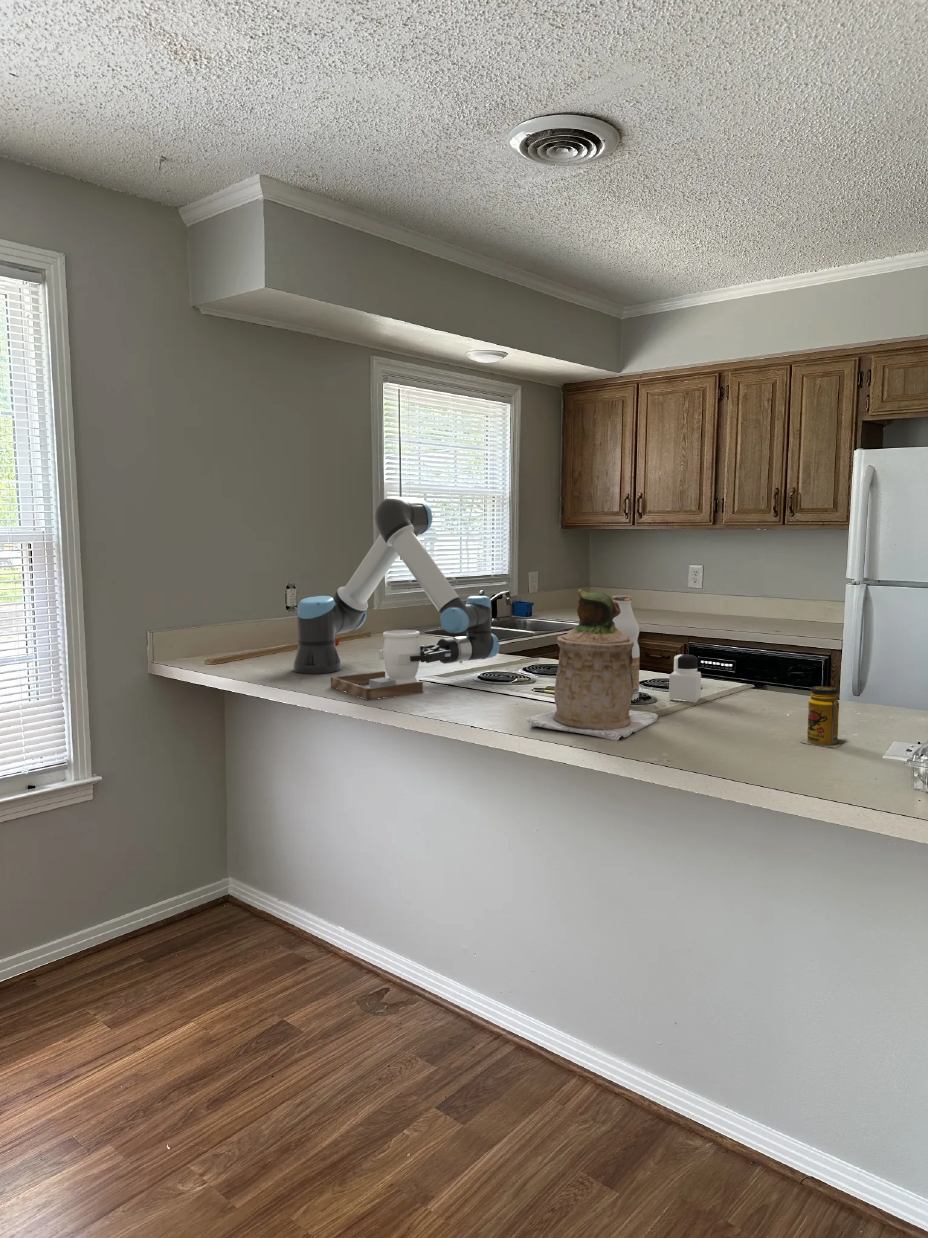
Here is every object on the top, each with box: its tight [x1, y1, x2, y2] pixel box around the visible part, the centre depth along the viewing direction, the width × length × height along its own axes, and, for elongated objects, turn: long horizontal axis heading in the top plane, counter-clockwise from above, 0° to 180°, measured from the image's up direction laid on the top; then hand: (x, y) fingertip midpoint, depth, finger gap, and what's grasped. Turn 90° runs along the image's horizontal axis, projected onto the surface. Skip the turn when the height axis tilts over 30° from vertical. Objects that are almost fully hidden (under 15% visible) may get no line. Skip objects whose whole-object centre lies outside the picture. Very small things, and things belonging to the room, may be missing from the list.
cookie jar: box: [525, 589, 659, 741], centre depth 200 cm, size 25×25×32 cm
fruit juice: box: [612, 594, 640, 700], centre depth 226 cm, size 9×9×28 cm
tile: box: [368, 677, 396, 688], centre depth 244 cm, size 6×5×3 cm
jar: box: [382, 629, 421, 685], centre depth 247 cm, size 11×10×15 cm
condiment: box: [800, 685, 849, 749], centre depth 184 cm, size 7×8×12 cm
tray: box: [330, 670, 424, 701], centre depth 243 cm, size 22×18×3 cm
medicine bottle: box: [668, 653, 702, 704], centre depth 228 cm, size 7×7×12 cm
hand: (389, 657), depth 244 cm, fingers closed on jar, 10 cm apart
